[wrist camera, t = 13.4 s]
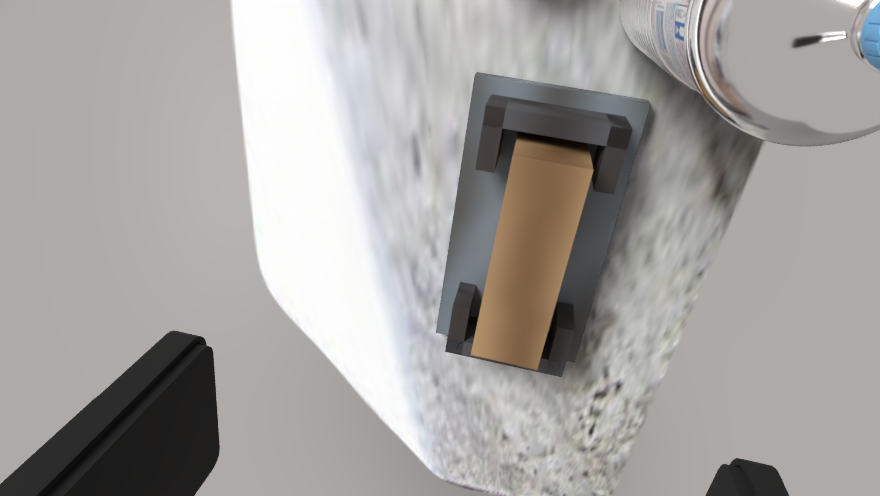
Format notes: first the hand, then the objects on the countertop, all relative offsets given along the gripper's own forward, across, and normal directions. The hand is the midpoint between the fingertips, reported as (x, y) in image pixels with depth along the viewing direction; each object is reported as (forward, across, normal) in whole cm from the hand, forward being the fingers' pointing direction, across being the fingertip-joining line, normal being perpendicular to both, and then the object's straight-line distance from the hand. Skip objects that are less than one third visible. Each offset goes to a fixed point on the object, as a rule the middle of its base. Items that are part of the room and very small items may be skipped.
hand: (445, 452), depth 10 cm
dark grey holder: (+30, -2, +8) cm, 31 cm away
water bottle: (+31, -8, -8) cm, 32 cm away
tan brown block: (+29, -2, +8) cm, 30 cm away
